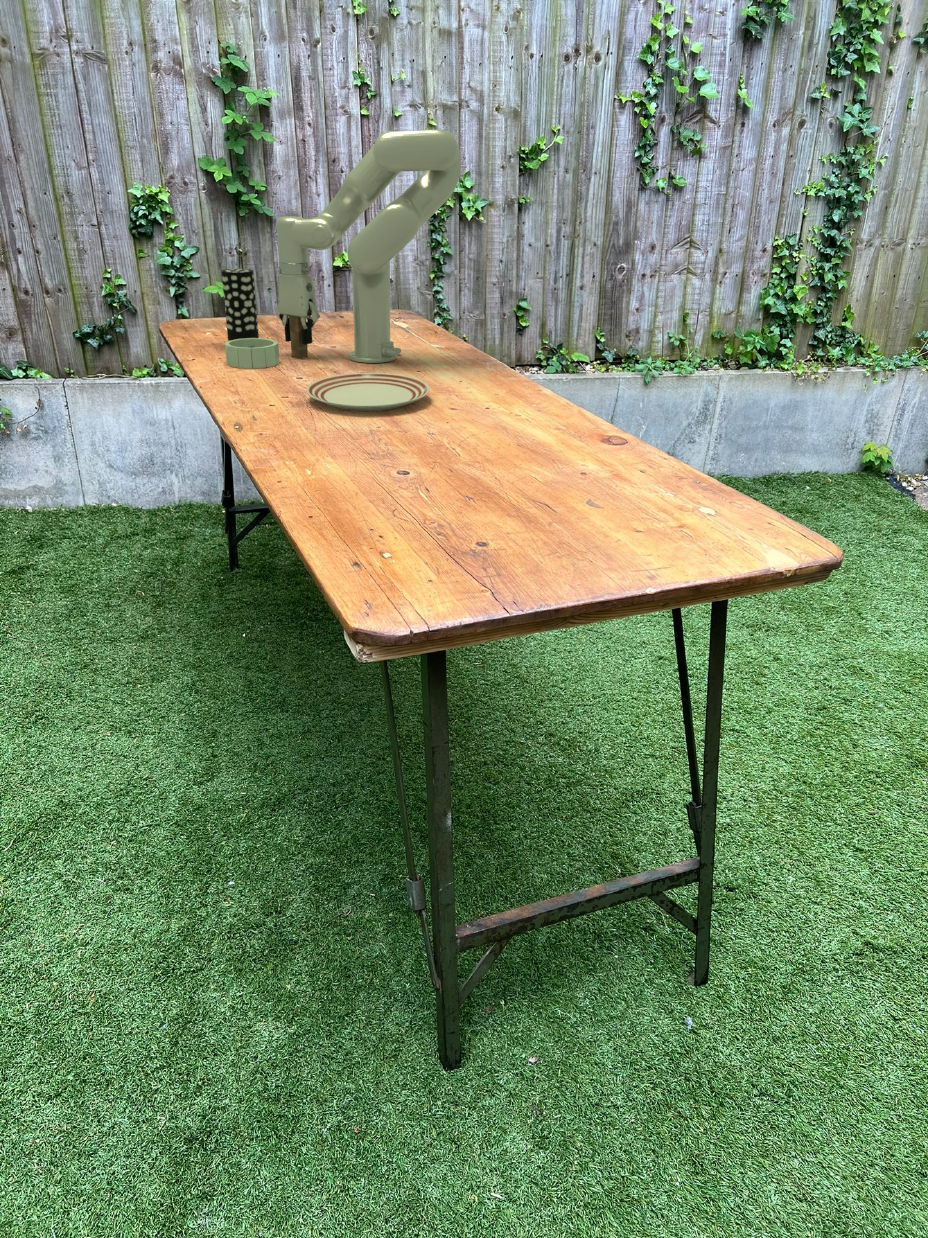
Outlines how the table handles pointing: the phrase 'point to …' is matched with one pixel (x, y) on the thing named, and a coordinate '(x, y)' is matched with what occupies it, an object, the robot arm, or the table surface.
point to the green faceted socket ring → (252, 353)
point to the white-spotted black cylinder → (240, 303)
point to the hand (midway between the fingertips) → (298, 341)
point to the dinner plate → (368, 391)
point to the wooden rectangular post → (297, 338)
